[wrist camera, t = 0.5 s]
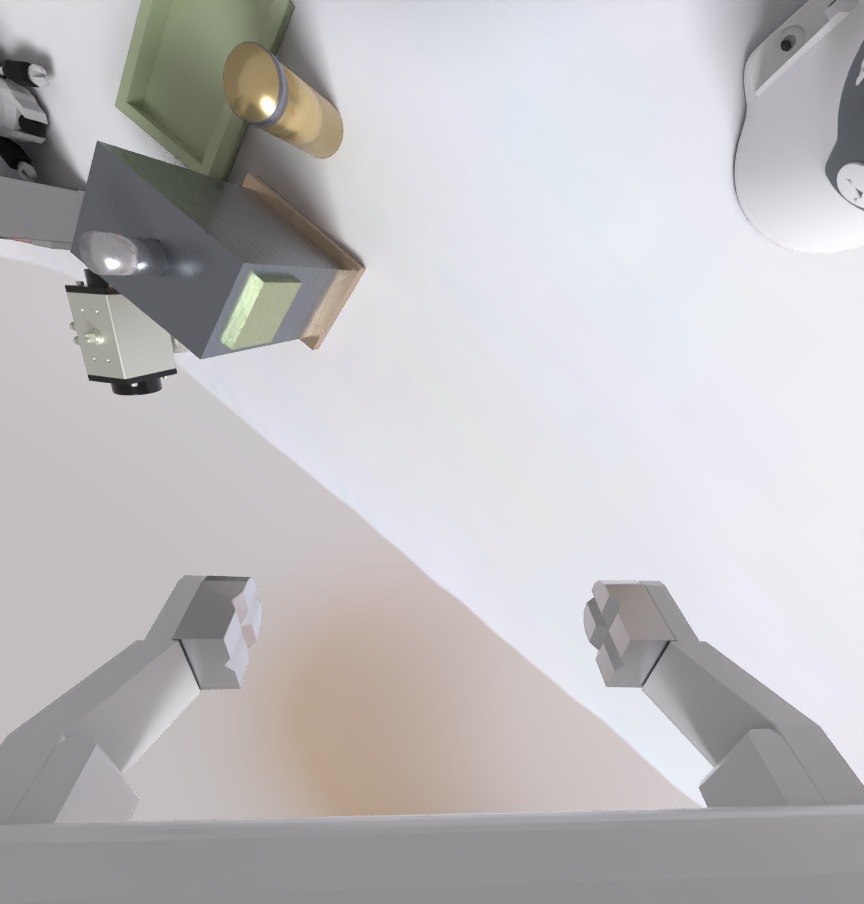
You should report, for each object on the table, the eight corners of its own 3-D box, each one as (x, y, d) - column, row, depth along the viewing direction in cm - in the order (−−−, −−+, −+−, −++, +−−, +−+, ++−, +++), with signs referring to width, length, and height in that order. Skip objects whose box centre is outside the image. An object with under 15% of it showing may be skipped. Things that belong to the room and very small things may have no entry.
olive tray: (192, -82, 36) (168, -106, 34) (294, 7, 36) (277, -12, 34) (138, 115, 43) (114, 105, 40) (223, 187, 43) (205, 182, 41)
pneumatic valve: (194, 273, 47) (88, 269, 36) (210, 378, 52) (119, 402, 41) (154, 271, 49) (39, 266, 38) (172, 373, 53) (74, 396, 42)
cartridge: (313, 86, 38) (237, 24, 29) (353, 120, 38) (290, 69, 29) (290, 138, 40) (212, 95, 31) (328, 171, 40) (262, 138, 31)
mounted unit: (255, 175, 42) (16, 87, 23) (365, 268, 42) (217, 255, 24) (217, 264, 46) (-9, 251, 28) (318, 348, 47) (161, 390, 28)
